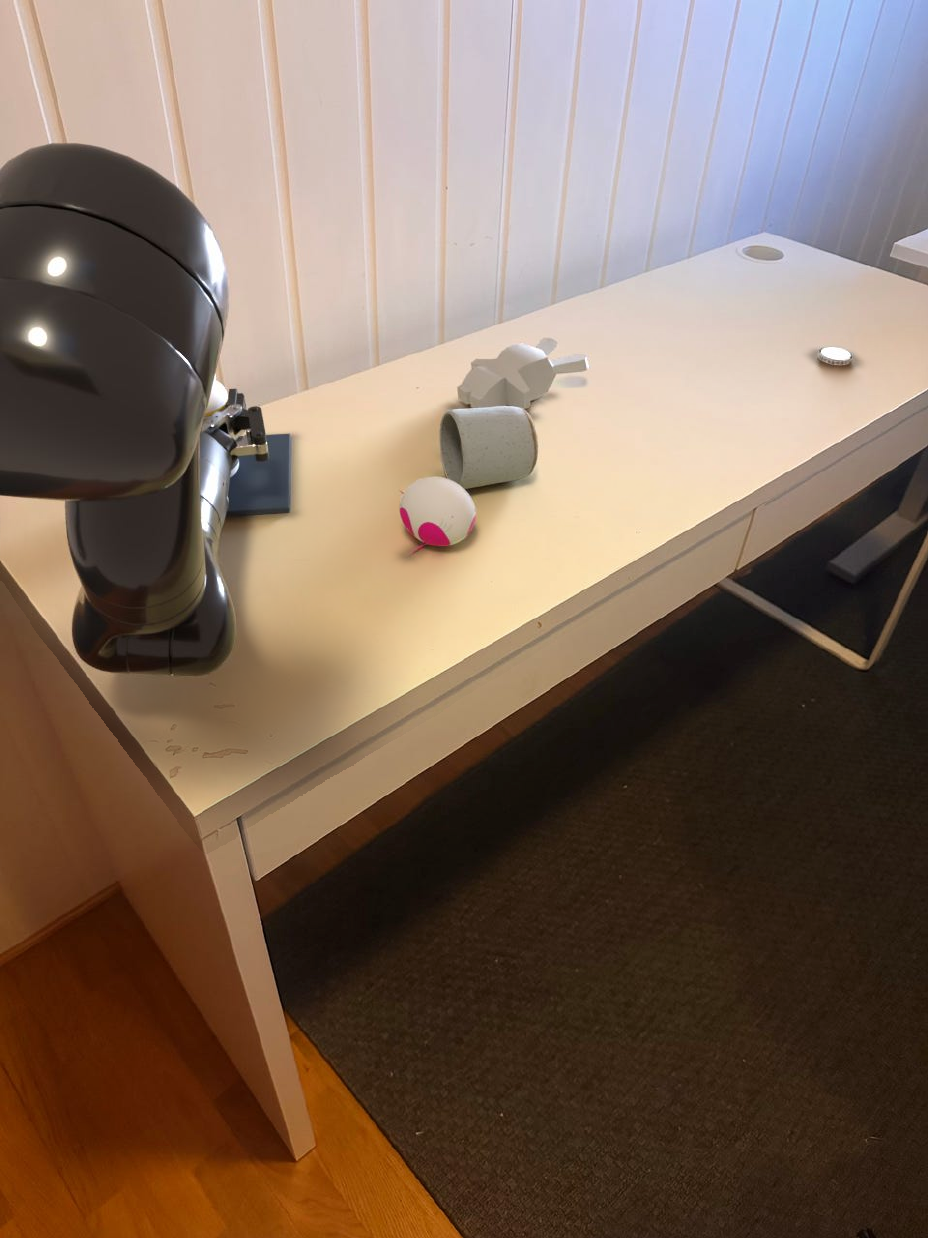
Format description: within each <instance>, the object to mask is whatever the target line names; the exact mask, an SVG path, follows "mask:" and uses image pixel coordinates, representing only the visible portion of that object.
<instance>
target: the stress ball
mask: <svg viewBox="0 0 928 1238" xmlns="http://www.w3.org/2000/svg"><path fill="white" fill-rule="evenodd" d="M398 491H400V493H401V494H402V495H401V497H400V501H399V515H400V519H401V521H402V524H403V525H404V527H405V528H406V530H407V531H408V532H409V533H410V534H411V535H412V536H413V537H414V538H416V539H417V540H419V541H420V542H422V543H421V544H420V545H419V546H417V547H416V548H415V549H413V550H412V551H411V552H409V553H408V555H411V554H412V553H414V552H415V551H417V550H419V549H420V548H422V547H424V546H426V545H430V546H436V547H447V546H453V545H456V544H458V543H460V542H461V541H463V540H464V539H466V538H467V537H468V536H469V535H470V533H471V532H472V531H473V529H474V526H475V523H476V519H477V511H476V506H475V503H474V500H473V499H472V496H471V495H470V494H469V492H468V491H467V490H466V489H464V488H463V487H462V486H460V485H459V484H457V483H456V482H454V481H452V480H450V479H447V477H442V476H436V475H435V476H434V475H433V476H425V477H421V478H419V479H417V480H415V481H413V482H412V483H410V484H409V485H408V486H407V487H406V488H405V490H404V491H401V490H398Z"/></svg>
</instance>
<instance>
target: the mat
mask: <svg viewBox="0 0 928 1238" xmlns="http://www.w3.org/2000/svg"><path fill="white" fill-rule="evenodd" d="M244 436H245V435H240V436H239V437H238V438H237V439H236V442H239V441H241V440H242V439H243V437H244ZM291 439H292V438H291V433H274V434H273V433H272V434H266V440H267V446H268V453H269V459H268V460H267V461H264V462H259V461H257V460H256V459H255V454H254V455H244V456H238V459H239V467H238V470H237V472H236V473H235V474H234V475H233V476H232V477H230V484H229V492H228V499H229V505H228V509H227V512H226V517H227V518H228V517H240V516H241V517H243V516H256V515H257V516H258V515H271V514H284V513H285V514H286V513H290V508H291V503H290V502H291V443H292V442H291V441H292V440H291ZM226 517H225V518H226Z"/></svg>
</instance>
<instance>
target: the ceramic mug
mask: <svg viewBox="0 0 928 1238" xmlns="http://www.w3.org/2000/svg"><path fill="white" fill-rule="evenodd" d="M438 430H439V434H438V436H439V437H438V438H439V440H438V441H439V451H440V457H441V458H440V459H441V463H442V468H443V472H444V475H445V478H447V479H450V480H452V481H454V482H456V483H457V484H459V485H460V486H462V487H463V488H464V489H465V490H466V489H467V490H468V489H472V488H478V487H484V486H490V485H494V484H499V483H507V482H514V481H517V480H521V479H524V478H525V477H528V476H529V475H530V474H531V473H532V472H533V470H534V469H535V467H536V465H537V461H538V457H539V456H538V455H539V440H538V439H539V438H538V432H537V429H536V425H535V422H534V420H533V418H532V416H531V415H530V413H529V412H527V410H526V409H523V408H520V407H515V406H511V405H506V406H496V407H486V408H472V407H470V408H457V409H456V408H455V409H448V410H446V411H445V412H444V413H443V415H442V416H441V419H440V423H439V429H438Z"/></svg>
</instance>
